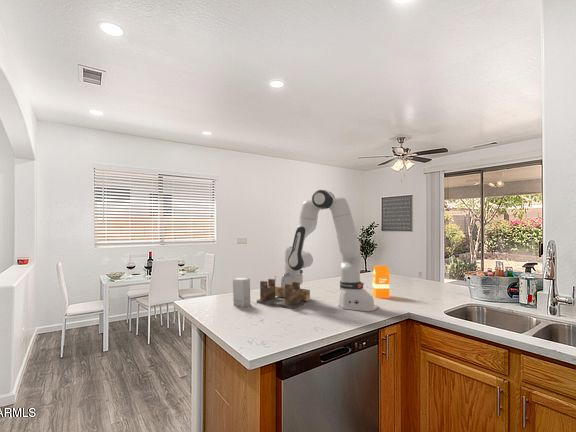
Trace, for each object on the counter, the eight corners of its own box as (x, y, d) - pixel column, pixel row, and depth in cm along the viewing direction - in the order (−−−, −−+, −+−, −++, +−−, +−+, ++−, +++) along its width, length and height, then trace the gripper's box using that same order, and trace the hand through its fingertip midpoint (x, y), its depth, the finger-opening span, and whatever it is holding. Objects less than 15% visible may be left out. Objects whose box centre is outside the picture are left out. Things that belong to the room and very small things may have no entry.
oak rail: (309, 299, 195) (309, 289, 195) (306, 300, 192) (306, 291, 192) (278, 294, 209) (278, 285, 209) (275, 295, 206) (275, 286, 206)
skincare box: (250, 304, 187) (250, 278, 187) (243, 307, 181) (243, 280, 181) (239, 302, 191) (239, 277, 192) (232, 305, 186) (232, 278, 186)
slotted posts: (303, 304, 187) (303, 282, 187) (292, 309, 177) (292, 285, 177) (268, 298, 202) (268, 278, 202) (256, 302, 192) (256, 281, 192)
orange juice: (389, 297, 203) (389, 266, 203) (375, 297, 203) (375, 266, 204) (385, 295, 211) (385, 264, 211) (372, 295, 211) (372, 264, 211)
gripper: (286, 274, 190) (287, 297, 190) (304, 270, 207) (304, 291, 207) (278, 273, 194) (278, 296, 193) (296, 269, 211) (296, 290, 210)
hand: (292, 293), depth 200 cm, fingers closed on oak rail, 4 cm apart
